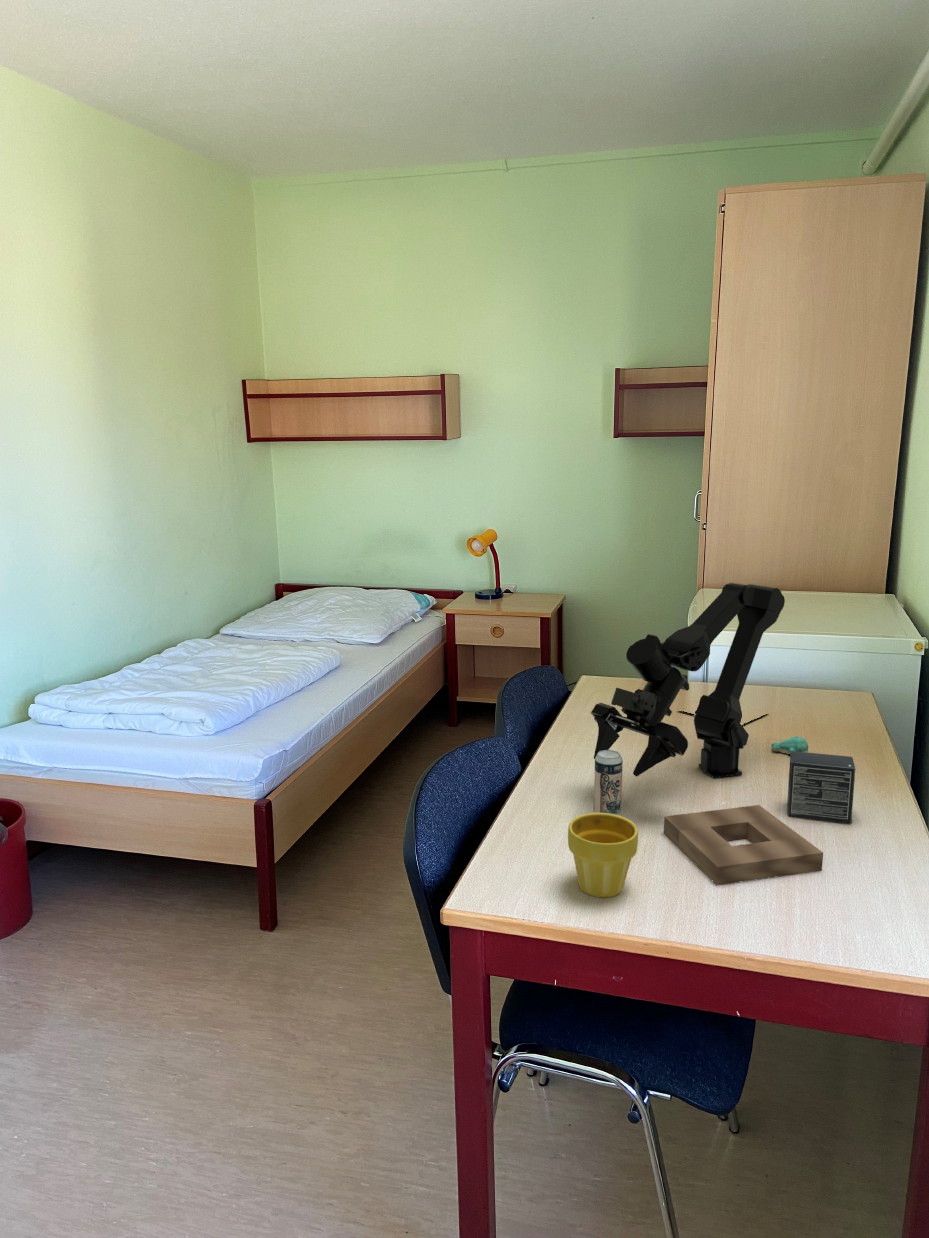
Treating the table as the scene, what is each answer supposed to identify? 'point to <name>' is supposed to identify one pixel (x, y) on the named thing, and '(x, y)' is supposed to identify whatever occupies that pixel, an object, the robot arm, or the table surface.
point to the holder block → (763, 858)
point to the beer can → (608, 782)
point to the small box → (821, 787)
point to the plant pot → (602, 851)
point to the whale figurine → (791, 745)
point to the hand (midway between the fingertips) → (614, 767)
